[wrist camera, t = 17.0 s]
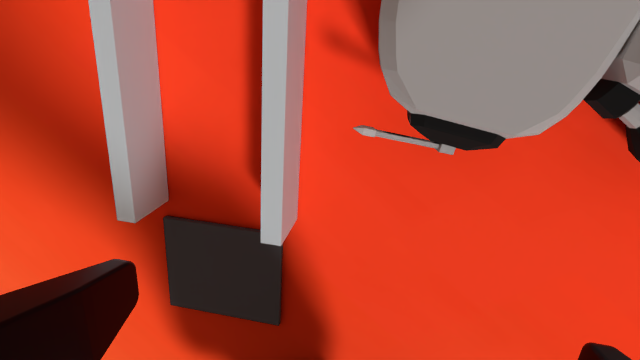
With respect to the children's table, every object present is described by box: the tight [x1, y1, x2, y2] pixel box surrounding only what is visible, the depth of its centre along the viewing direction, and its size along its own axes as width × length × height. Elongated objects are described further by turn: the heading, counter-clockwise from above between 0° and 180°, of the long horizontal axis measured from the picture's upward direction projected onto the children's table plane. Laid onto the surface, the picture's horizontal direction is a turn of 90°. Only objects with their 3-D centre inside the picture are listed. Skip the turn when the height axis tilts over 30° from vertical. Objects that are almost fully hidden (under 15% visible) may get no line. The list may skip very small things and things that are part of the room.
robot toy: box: [353, 0, 640, 162], centre depth 14 cm, size 12×4×15 cm
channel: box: [88, 0, 307, 246], centre depth 18 cm, size 12×8×3 cm
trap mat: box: [163, 216, 283, 326], centre depth 23 cm, size 6×7×1 cm
